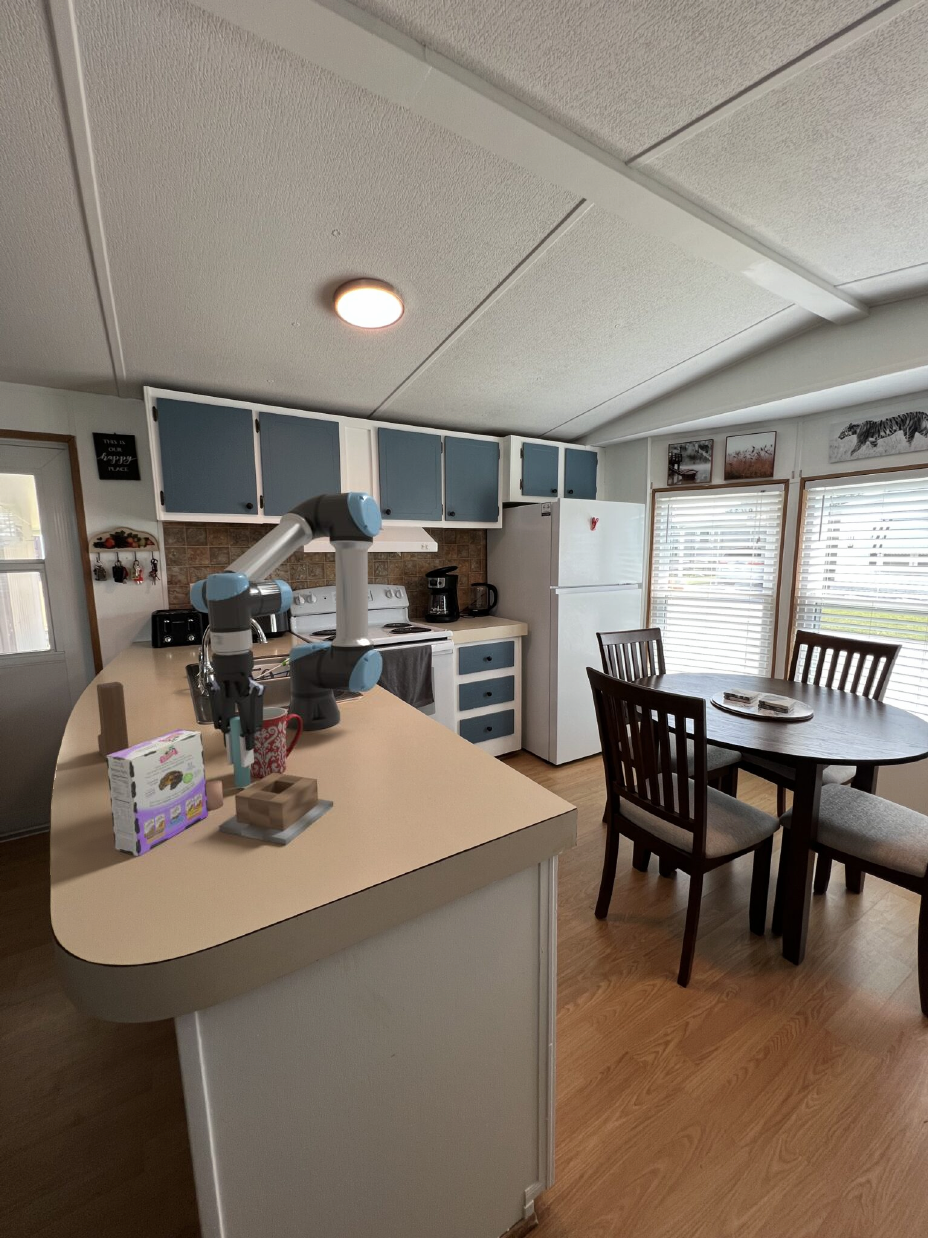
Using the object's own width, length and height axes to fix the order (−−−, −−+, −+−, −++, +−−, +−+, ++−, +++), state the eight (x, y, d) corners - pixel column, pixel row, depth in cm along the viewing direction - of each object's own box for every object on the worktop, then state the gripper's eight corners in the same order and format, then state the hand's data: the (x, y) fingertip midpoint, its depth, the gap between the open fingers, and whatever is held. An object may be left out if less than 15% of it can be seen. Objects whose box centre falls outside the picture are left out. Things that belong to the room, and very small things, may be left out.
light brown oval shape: (214, 801, 101) (213, 779, 100) (226, 803, 100) (225, 781, 99) (202, 808, 98) (200, 786, 97) (214, 810, 97) (213, 788, 96)
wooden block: (98, 752, 127) (91, 681, 124) (120, 747, 130) (113, 678, 128) (107, 762, 120) (100, 687, 118) (129, 756, 124) (123, 684, 121)
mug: (254, 784, 108) (250, 722, 106) (241, 770, 115) (237, 712, 113) (311, 768, 116) (309, 710, 114) (296, 756, 123) (293, 701, 121)
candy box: (186, 811, 97) (179, 727, 95) (209, 817, 95) (203, 731, 93) (113, 850, 84) (104, 754, 82) (138, 857, 82) (129, 759, 80)
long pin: (242, 780, 108) (237, 715, 106) (253, 782, 107) (249, 717, 105) (231, 786, 105) (226, 720, 103) (243, 788, 104) (238, 722, 102)
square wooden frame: (273, 795, 103) (271, 767, 102) (333, 806, 98) (332, 776, 97) (219, 831, 90) (217, 798, 89) (286, 845, 85) (284, 811, 84)
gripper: (186, 652, 101) (196, 766, 104) (251, 657, 96) (259, 776, 99) (215, 645, 108) (224, 752, 111) (278, 649, 103) (285, 761, 106)
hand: (241, 763), depth 105 cm, fingers closed on long pin, 3 cm apart
